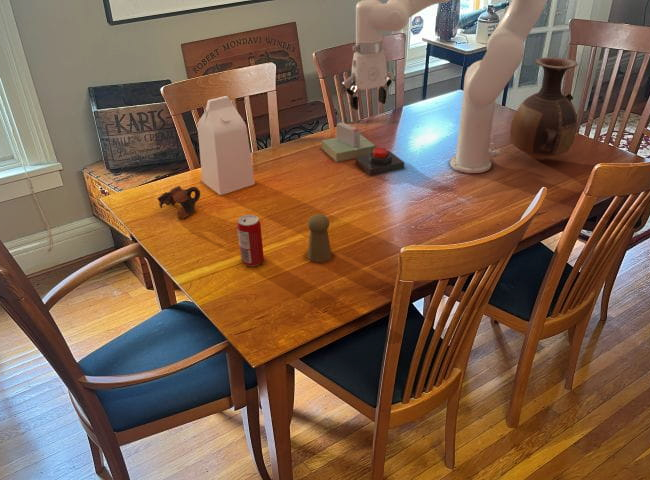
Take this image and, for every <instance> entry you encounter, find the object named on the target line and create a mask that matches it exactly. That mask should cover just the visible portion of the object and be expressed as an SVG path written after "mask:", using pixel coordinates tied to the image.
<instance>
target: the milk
mask: <svg viewBox="0 0 650 480" xmlns="http://www.w3.org/2000/svg"><path fill="white" fill-rule="evenodd" d="M248 134H249V133H248V128H247V124H246V122H245V120H244V119H243V117H242V116H241V114H240V113H239V112H238V110H237V109H236V107H235V106H234V104H233V102H232V101H231V99H230V97H229V96H228V95H224V96H219V97H216V98H211V99H208V100H207V103H206V108H205V111H204V112H203V114H202V115H201V117H200V118H199V120H198V121H197V136H198V147H199V158H200V170H201V181H202V183H203V184H204V185H206V186H207V187H208V188H210V190H212V191H214V192H215V193H216V194H217V195H219V196H223V195H226V194H228V193H232V192H235V191H238V190H241V189H245V188H248V187H250V186H253V185H255V184H256V181H255V175H254V174H255V173H254V168H253V162H252V154H251V147H250V139H249V135H248Z"/></svg>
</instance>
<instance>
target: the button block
mask: <svg viewBox="0 0 650 480" xmlns="http://www.w3.org/2000/svg"><path fill="white" fill-rule="evenodd" d="M355 165H356V166H358V168H360V169H361V170H362V171H363V172H365V173H366V174H367V175H368V176H369V177H372V176H377V175H381V174H386V173H390V172H395V171H400V170H404V169H405V162H404V161H403V160H402V159H401V158H399V157H398V156H397V155H395V153H393V152H391V151H390V150H387V157H384V158H376V157H374V156H373V151H371V152H370V153H369V155H367V156H362V157H357V158H355Z"/></svg>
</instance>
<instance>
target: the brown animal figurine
mask: <svg viewBox="0 0 650 480" xmlns="http://www.w3.org/2000/svg"><path fill="white" fill-rule="evenodd" d="M192 193H194V197H192ZM200 198H201V190H200V189H199V187H196V186H191V187H189V188H186V189H184V188H182V187H181V185H176V186H174V187H173V188H172V189H171V188H170V190H169V191H168V192H164V193H163V194H161V195H160V196H159V197H157V201H159V202H158V206H159V209H163V205H166V206H171V205H172V206H175V204H179V205H180V206H181V207H182V209H180V210H179V211H178V212H177V214H178V216H179V218H180V219H181V220H182V219H185V218H187V217H189V216H190V215H192V214H194V213H195V212H196V209H195V205H196V203H197V202H198V201H199V200H200Z"/></svg>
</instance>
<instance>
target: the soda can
mask: <svg viewBox="0 0 650 480" xmlns="http://www.w3.org/2000/svg"><path fill="white" fill-rule="evenodd" d="M236 227H237V236H238V244H239V251H240V261H241V263H242V264H244V265H245V266H248V267H255V266H256V267H257V266H259V265H260V264H262V263H263V262H264V260H265V257H264V256H265V255H264V246H263V237H262V226H261V222H260V220H259V217H258V216H257V215H256V214H244V215H242V216H240V217H239V218H238V219H237V226H236Z"/></svg>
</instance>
